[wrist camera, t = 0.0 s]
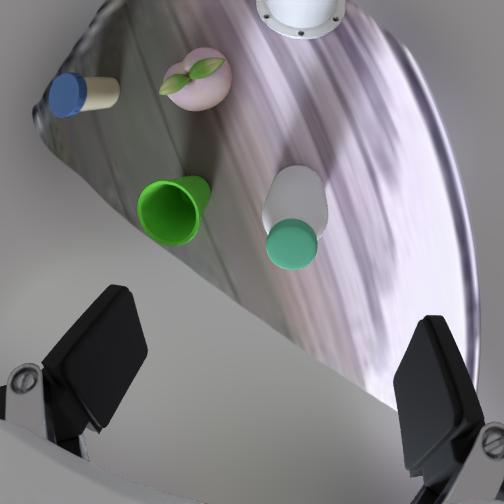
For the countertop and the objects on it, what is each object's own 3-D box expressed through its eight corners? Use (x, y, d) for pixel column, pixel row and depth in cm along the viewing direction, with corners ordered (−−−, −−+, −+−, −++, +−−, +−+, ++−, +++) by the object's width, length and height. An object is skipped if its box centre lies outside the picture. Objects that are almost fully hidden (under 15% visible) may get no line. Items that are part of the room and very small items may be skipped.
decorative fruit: (200, 122, 41) (173, 126, 32) (172, 81, 39) (140, 77, 30) (253, 87, 38) (237, 81, 29) (222, 45, 35) (199, 30, 26)
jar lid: (56, 79, 31) (48, 79, 30) (87, 68, 30) (79, 67, 29) (57, 119, 35) (49, 121, 33) (88, 112, 34) (80, 113, 32)
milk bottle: (275, 160, 42) (252, 200, 25) (327, 168, 41) (344, 215, 24) (269, 209, 46) (244, 278, 28) (318, 217, 45) (324, 292, 27)
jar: (93, 80, 40) (52, 81, 30) (119, 73, 39) (78, 71, 29) (94, 110, 42) (53, 117, 33) (120, 105, 41) (79, 110, 32)
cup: (201, 227, 49) (176, 259, 40) (160, 193, 48) (126, 217, 38) (234, 188, 45) (214, 212, 36) (190, 151, 44) (157, 165, 34)
